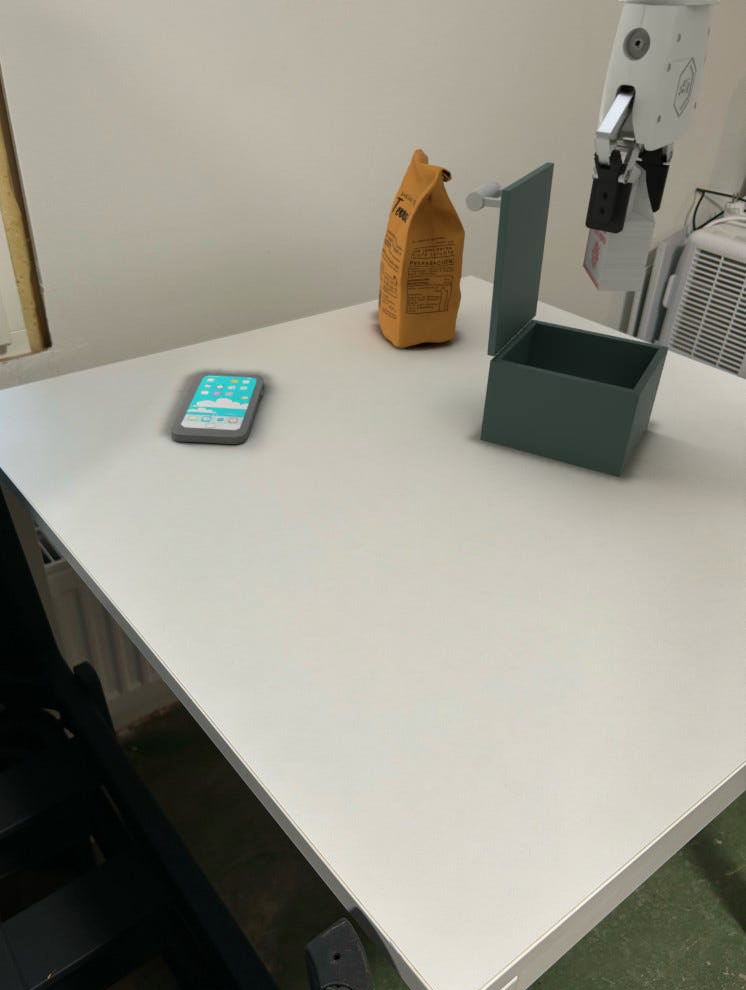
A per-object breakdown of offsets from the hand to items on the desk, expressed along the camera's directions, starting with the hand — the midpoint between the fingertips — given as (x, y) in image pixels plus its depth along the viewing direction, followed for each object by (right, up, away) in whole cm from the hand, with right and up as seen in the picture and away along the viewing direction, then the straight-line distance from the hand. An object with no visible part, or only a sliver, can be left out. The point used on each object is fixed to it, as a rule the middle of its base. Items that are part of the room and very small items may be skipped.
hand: (623, 218), depth 73 cm
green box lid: (-7, -1, +8) cm, 11 cm away
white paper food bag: (0, -4, +3) cm, 6 cm away
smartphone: (-39, -14, +20) cm, 46 cm away
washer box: (-1, -18, +16) cm, 24 cm away
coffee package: (-15, 0, +39) cm, 42 cm away
